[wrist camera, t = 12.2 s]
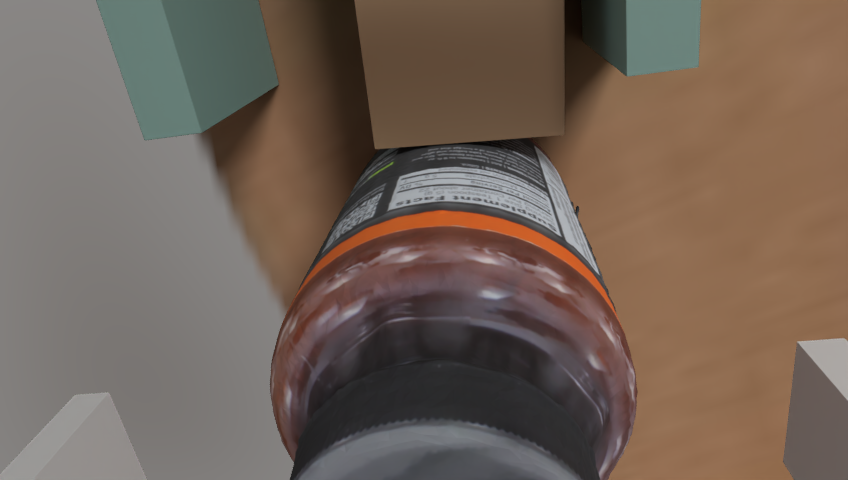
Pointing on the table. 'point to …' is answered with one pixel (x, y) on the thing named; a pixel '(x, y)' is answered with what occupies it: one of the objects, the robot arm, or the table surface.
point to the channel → (255, 72)
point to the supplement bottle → (454, 329)
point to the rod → (462, 70)
